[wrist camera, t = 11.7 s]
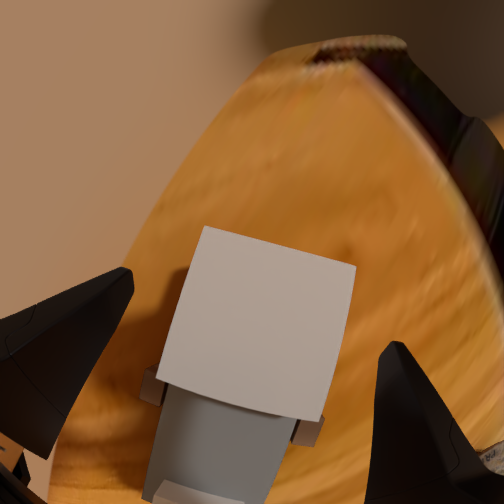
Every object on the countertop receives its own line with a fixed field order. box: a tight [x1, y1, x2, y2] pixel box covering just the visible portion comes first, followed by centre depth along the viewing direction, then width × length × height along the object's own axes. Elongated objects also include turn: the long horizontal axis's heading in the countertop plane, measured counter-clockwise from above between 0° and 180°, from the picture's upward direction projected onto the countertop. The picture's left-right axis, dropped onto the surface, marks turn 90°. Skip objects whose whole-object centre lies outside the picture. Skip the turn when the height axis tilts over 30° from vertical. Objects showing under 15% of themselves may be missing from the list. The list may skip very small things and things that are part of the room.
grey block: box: [156, 226, 356, 422], centre depth 12 cm, size 5×5×10 cm
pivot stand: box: [139, 363, 325, 447], centre depth 17 cm, size 2×13×2 cm, turn 75°
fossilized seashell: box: [478, 440, 504, 475], centre depth 12 cm, size 11×10×7 cm
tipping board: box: [141, 383, 297, 504], centre depth 15 cm, size 21×9×4 cm, turn 164°
